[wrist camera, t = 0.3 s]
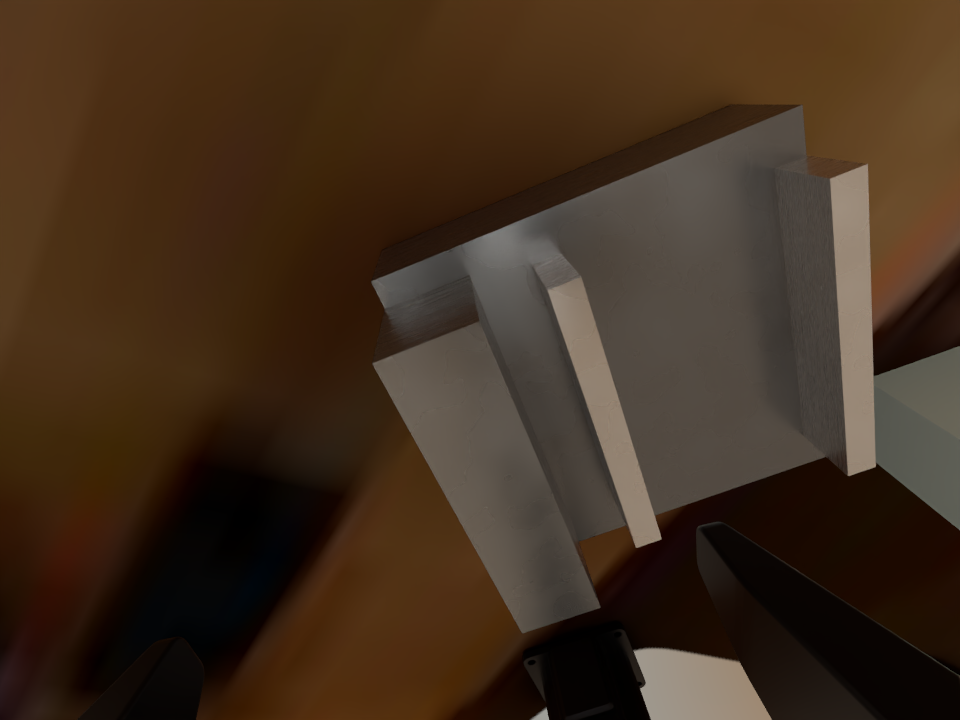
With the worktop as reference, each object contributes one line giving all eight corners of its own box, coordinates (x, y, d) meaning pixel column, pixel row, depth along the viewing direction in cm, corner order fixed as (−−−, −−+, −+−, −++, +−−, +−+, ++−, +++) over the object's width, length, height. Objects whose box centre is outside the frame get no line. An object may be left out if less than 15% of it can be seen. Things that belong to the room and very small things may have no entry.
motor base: (773, 404, 25) (910, 525, 18) (504, 500, 26) (530, 649, 19) (731, 104, 19) (916, 105, 12) (382, 250, 20) (354, 330, 13)
